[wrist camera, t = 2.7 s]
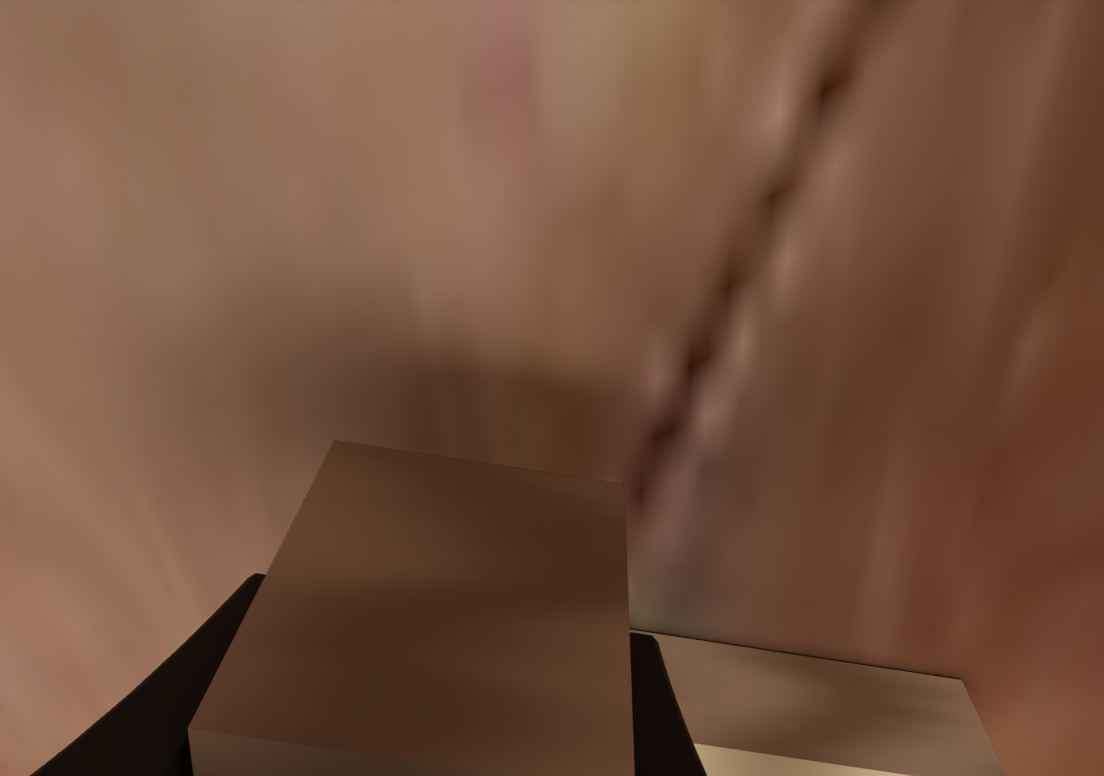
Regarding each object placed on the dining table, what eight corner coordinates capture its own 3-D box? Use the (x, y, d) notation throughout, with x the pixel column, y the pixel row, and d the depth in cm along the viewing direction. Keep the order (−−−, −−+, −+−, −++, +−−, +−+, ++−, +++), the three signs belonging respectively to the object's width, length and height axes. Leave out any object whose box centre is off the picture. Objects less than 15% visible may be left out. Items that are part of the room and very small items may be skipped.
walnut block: (624, 484, 12) (634, 791, 8) (576, 679, 15) (565, 1002, 10) (334, 440, 12) (187, 728, 8) (331, 643, 14) (215, 955, 10)
